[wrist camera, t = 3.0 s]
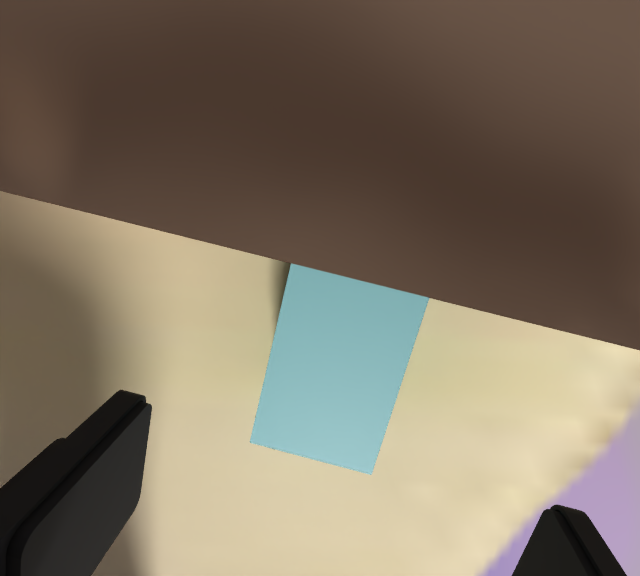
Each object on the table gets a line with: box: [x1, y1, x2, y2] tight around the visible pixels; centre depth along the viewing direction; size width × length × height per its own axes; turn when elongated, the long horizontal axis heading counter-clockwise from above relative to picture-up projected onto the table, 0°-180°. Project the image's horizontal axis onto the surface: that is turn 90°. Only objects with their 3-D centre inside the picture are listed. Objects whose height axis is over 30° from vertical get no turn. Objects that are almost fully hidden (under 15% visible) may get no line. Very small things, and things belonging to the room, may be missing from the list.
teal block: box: [250, 263, 429, 475], centre depth 18 cm, size 14×5×6 cm, turn 166°
